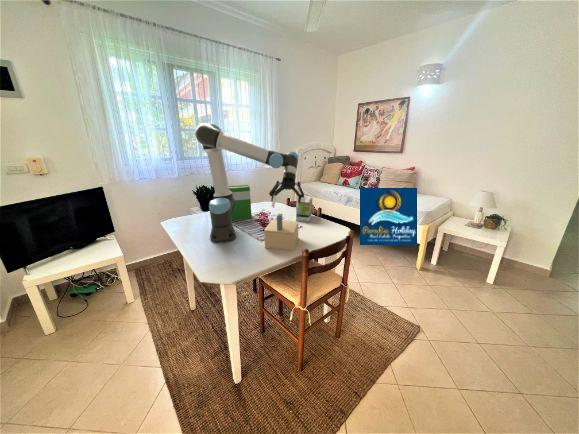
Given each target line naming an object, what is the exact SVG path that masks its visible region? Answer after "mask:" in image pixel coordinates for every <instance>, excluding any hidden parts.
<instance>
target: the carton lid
mask: <svg viewBox="0 0 579 434" xmlns="http://www.w3.org/2000/svg"><path fill="white" fill-rule="evenodd" d="M297 225H298V226H299V221H296V220H295V221H293V220H283V213H278V214H277V215H276V219H271V220H270V222H269V223H268V224H267V225H266V227H265V228H264V230H263V233H264V232H277V233H290V234H294V231H295V229H296V227H297Z"/></svg>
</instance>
